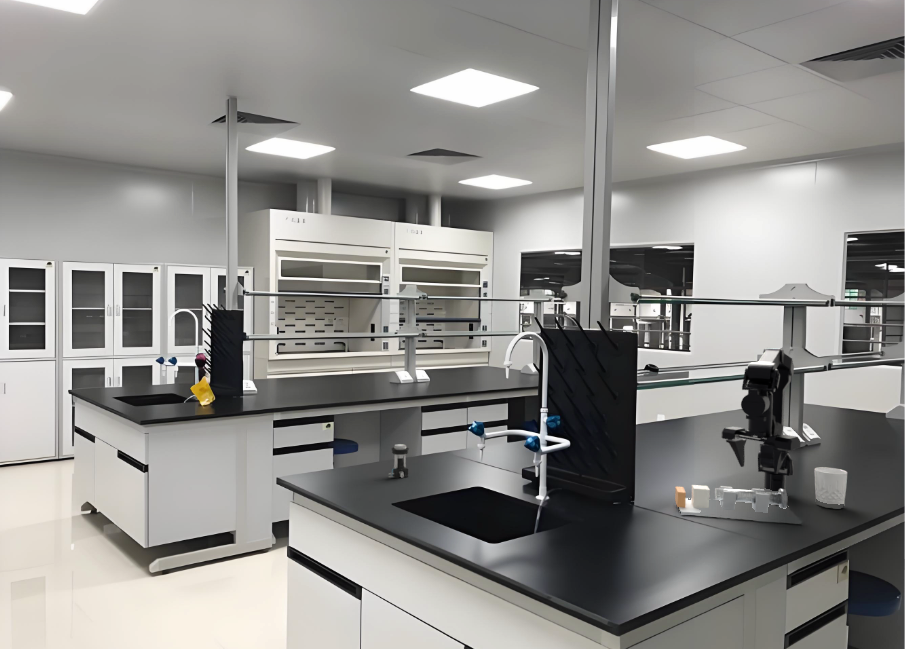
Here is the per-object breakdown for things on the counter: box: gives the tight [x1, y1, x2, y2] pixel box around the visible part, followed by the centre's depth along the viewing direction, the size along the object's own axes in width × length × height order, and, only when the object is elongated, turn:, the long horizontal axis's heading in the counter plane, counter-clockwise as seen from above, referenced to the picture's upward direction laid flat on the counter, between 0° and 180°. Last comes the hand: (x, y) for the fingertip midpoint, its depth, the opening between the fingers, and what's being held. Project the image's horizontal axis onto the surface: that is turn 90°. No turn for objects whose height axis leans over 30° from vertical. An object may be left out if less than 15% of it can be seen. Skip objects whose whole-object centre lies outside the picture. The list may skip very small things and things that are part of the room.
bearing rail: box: [674, 485, 770, 513], centre depth 178 cm, size 14×30×6 cm, turn 77°
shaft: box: [714, 487, 789, 509], centre depth 177 cm, size 5×17×5 cm, turn 77°
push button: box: [388, 443, 410, 479], centre depth 208 cm, size 7×5×10 cm
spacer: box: [690, 484, 711, 508], centre depth 180 cm, size 4×4×5 cm
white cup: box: [814, 466, 848, 505], centre depth 185 cm, size 8×8×10 cm
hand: (758, 470), depth 177 cm, fingers open, 9 cm apart
